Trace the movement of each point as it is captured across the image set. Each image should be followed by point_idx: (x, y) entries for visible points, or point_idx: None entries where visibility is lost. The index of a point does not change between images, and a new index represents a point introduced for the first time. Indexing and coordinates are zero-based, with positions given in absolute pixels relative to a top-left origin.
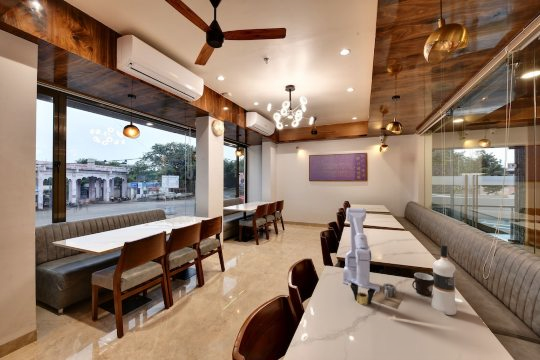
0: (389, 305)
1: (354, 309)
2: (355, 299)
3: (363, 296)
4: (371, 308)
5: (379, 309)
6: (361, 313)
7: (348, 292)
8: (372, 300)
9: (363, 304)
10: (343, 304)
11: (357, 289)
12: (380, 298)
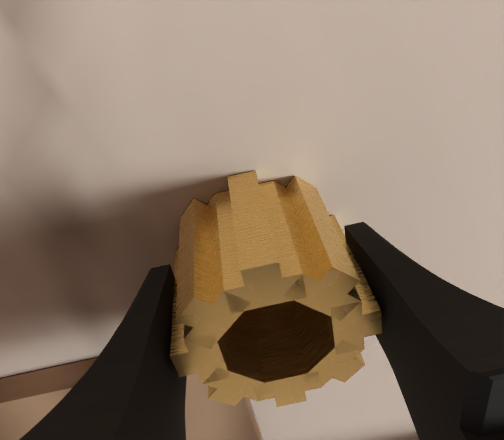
0: (20, 412)
1: (268, 26)
2: (359, 226)
3: (284, 338)
4: (131, 247)
5: (63, 298)
6: (121, 11)
7: None
8: None
9: (215, 216)
10: (474, 10)
11: (408, 388)
12: None
